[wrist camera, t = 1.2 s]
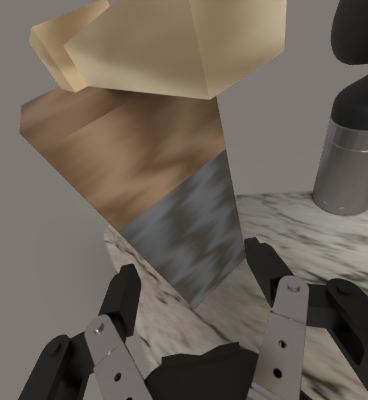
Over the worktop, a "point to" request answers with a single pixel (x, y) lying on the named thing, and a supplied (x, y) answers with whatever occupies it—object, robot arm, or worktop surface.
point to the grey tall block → (147, 175)
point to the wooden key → (161, 44)
